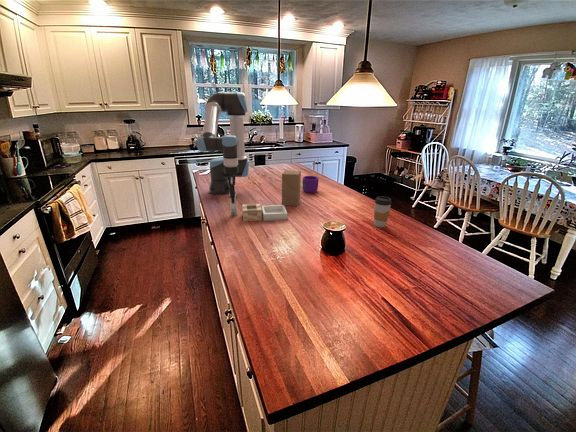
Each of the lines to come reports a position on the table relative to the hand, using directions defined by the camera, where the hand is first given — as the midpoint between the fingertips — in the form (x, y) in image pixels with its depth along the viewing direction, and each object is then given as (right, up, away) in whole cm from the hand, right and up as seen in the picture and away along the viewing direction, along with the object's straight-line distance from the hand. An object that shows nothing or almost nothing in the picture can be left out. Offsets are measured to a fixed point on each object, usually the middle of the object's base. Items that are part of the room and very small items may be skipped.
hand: (233, 206), depth 163 cm
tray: (+23, -5, +2) cm, 23 cm away
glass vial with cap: (0, -5, +2) cm, 5 cm away
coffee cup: (+80, -10, -7) cm, 81 cm away
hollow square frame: (+10, -6, 0) cm, 12 cm away
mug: (+46, +14, +49) cm, 69 cm away
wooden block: (+32, +3, +23) cm, 40 cm away
